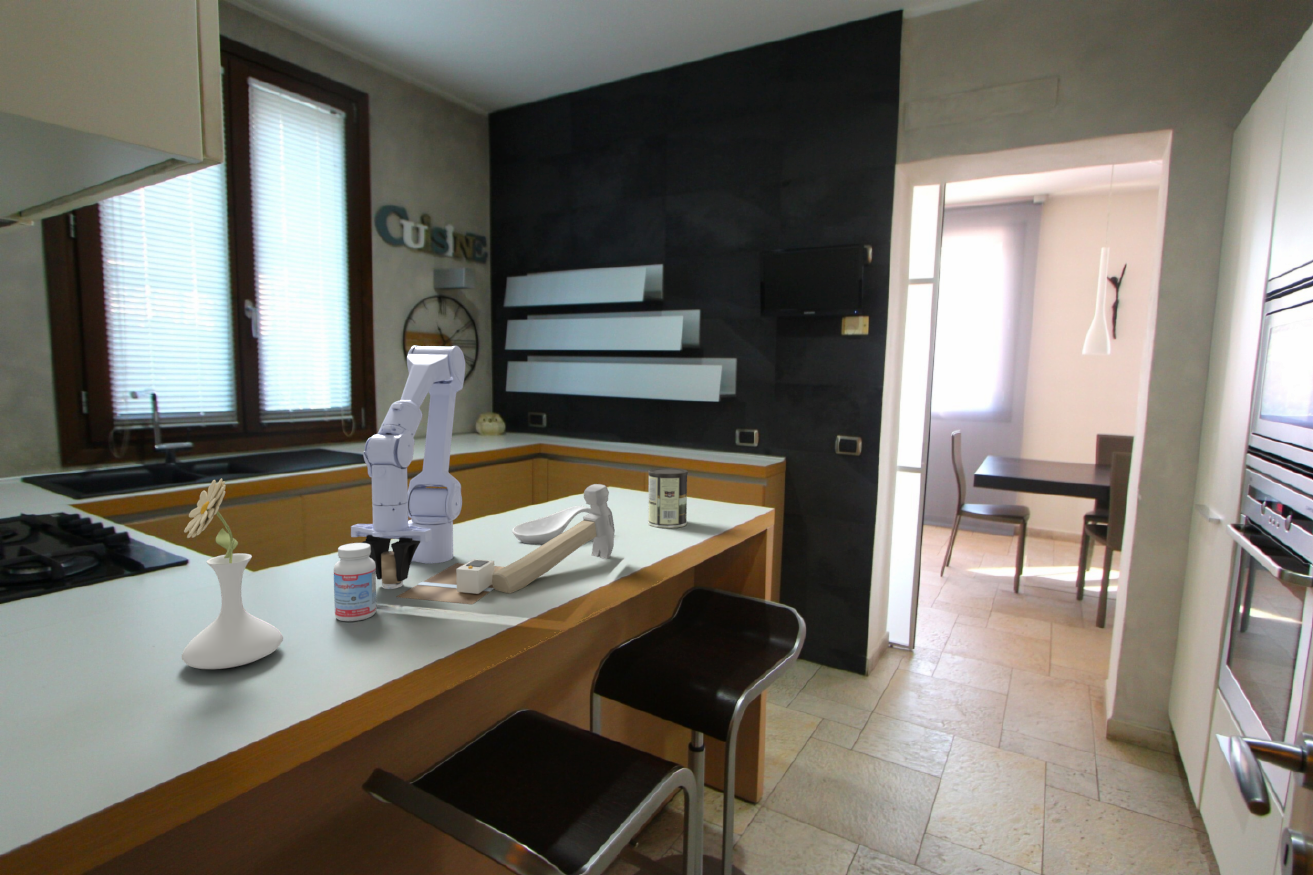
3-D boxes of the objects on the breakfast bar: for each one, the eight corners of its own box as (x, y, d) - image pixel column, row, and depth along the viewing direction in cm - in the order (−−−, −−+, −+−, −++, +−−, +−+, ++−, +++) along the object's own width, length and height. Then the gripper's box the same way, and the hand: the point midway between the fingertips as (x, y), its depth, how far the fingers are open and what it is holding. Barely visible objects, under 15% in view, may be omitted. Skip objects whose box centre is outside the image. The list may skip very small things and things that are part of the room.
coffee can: (673, 517, 174) (674, 466, 173) (694, 525, 165) (695, 472, 164) (640, 521, 169) (641, 469, 168) (660, 530, 160) (661, 474, 159)
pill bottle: (331, 624, 98) (328, 552, 97) (339, 610, 104) (337, 542, 103) (373, 620, 100) (371, 550, 98) (379, 606, 105) (377, 540, 104)
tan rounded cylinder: (378, 594, 111) (376, 555, 111) (390, 588, 115) (389, 550, 114) (395, 596, 111) (394, 556, 110) (407, 589, 114) (406, 551, 113)
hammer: (501, 548, 106) (610, 484, 130) (482, 544, 109) (593, 482, 132) (518, 630, 111) (620, 554, 134) (499, 623, 114) (603, 550, 137)
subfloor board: (395, 603, 107) (395, 596, 107) (456, 568, 126) (456, 562, 126) (472, 611, 104) (472, 603, 104) (522, 574, 123) (522, 567, 123)
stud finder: (456, 591, 109) (456, 566, 108) (473, 580, 115) (473, 556, 114) (478, 593, 108) (478, 568, 107) (494, 582, 114) (494, 558, 113)
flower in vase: (194, 648, 89) (184, 470, 86) (288, 635, 93) (280, 467, 91) (166, 691, 77) (153, 487, 74) (276, 674, 81) (267, 481, 79)
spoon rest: (528, 553, 139) (527, 520, 138) (503, 541, 148) (503, 511, 147) (615, 536, 154) (615, 507, 154) (588, 527, 163) (588, 499, 163)
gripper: (337, 504, 109) (340, 582, 110) (414, 509, 106) (416, 589, 107) (364, 497, 115) (367, 570, 117) (437, 501, 112) (439, 576, 114)
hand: (392, 578), depth 112 cm, fingers closed on tan rounded cylinder, 3 cm apart
